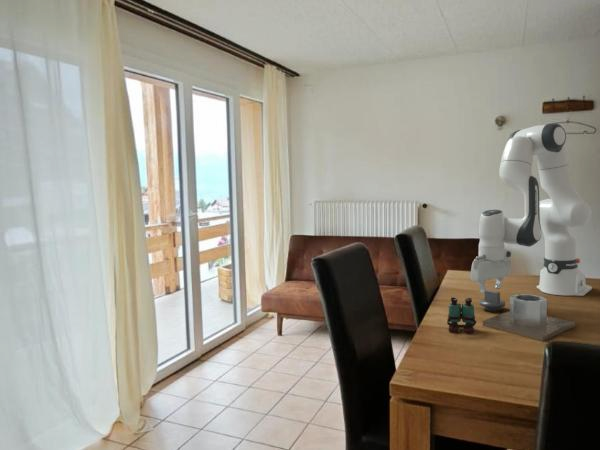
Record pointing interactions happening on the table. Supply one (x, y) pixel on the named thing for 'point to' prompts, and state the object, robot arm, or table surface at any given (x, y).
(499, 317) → the square base plate
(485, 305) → the grey dial knob
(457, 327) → the binoculars
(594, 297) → the table surface
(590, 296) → the table surface
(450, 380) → the table surface
